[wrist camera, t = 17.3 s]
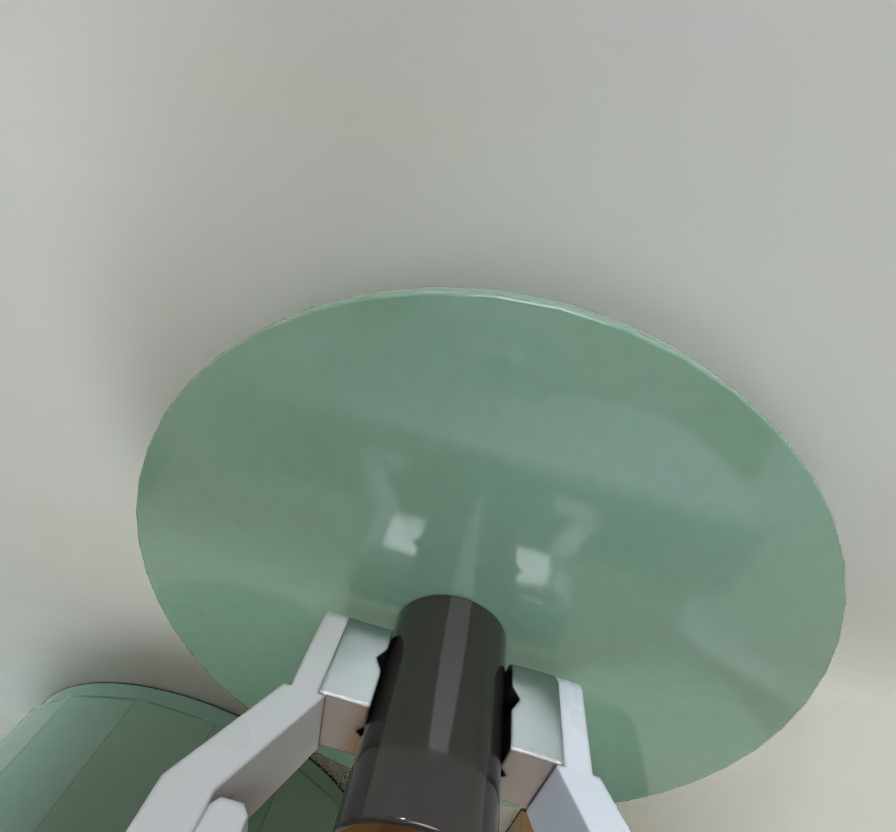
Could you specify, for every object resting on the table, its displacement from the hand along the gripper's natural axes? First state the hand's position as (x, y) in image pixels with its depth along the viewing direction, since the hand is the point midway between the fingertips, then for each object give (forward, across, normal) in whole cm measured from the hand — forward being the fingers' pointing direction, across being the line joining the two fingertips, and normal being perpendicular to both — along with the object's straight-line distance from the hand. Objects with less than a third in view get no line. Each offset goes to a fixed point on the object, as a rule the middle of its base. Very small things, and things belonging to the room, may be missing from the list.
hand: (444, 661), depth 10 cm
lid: (+1, 0, 0) cm, 1 cm away
